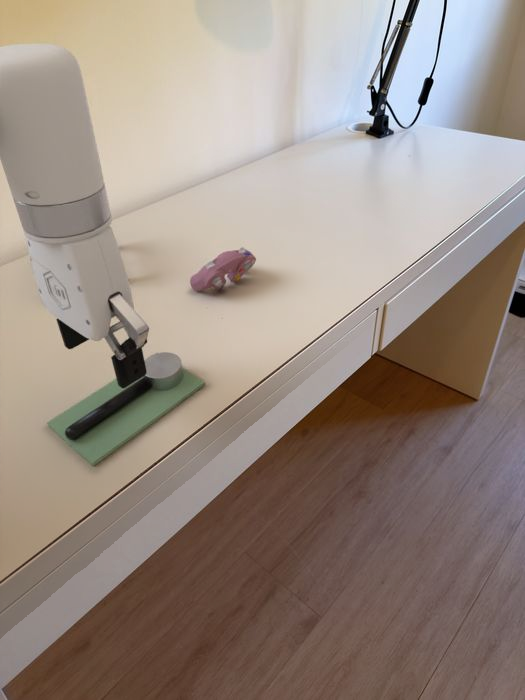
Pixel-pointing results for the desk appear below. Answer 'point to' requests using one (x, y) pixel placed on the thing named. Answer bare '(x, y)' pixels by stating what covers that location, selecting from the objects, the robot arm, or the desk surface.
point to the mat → (121, 416)
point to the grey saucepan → (133, 391)
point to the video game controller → (223, 269)
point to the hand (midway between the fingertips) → (105, 360)
